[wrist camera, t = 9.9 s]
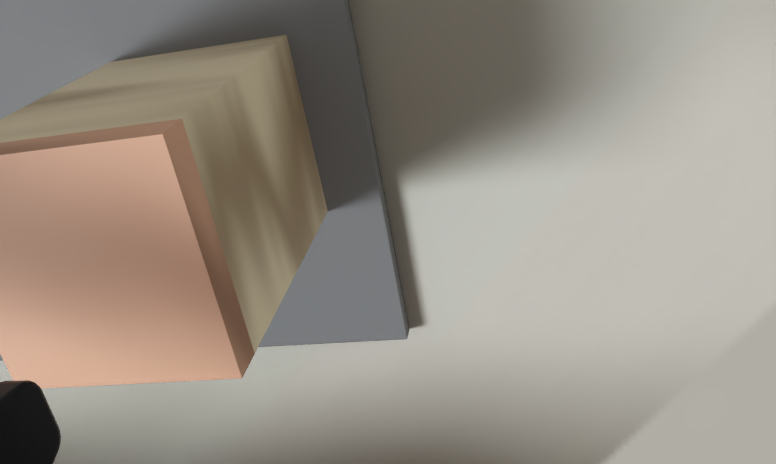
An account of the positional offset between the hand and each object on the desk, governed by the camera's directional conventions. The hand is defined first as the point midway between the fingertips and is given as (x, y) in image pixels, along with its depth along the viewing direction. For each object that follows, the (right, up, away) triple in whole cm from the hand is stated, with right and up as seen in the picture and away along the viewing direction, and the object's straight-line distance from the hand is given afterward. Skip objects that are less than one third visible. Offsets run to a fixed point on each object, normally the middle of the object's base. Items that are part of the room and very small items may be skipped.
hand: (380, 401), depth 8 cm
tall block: (-5, +4, +12) cm, 13 cm away
